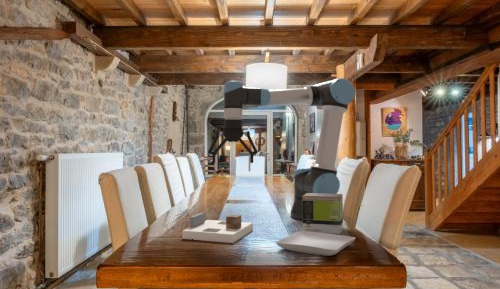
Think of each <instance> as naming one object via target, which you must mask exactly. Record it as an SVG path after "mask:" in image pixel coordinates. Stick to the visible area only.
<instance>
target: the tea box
mask: <svg viewBox="0 0 500 289" xmlns="http://www.w3.org/2000/svg"><path fill="white" fill-rule="evenodd" d="M343 199H344V198H343V194H342V193H337V194H320V193H307V194H305V195H303V196H302V219H301V220H302V223H301V225H302V231H306V232H317V233H327V234H335V235H341V233H342V232H343V228H344V215H343V214H344V210H343V209H344V207H343V206H344V203H343Z"/></svg>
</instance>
